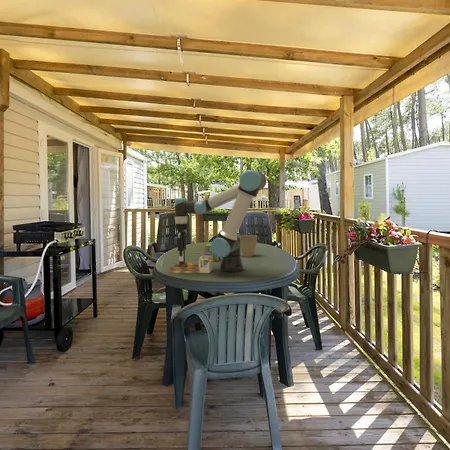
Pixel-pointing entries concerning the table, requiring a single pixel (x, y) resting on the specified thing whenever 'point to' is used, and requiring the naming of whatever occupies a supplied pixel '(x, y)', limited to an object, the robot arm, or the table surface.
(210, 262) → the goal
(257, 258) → the table surface
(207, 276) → the table surface
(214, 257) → the chalk box
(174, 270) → the tray
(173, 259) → the table surface
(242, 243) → the plant pot
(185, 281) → the table surface
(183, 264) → the sled
